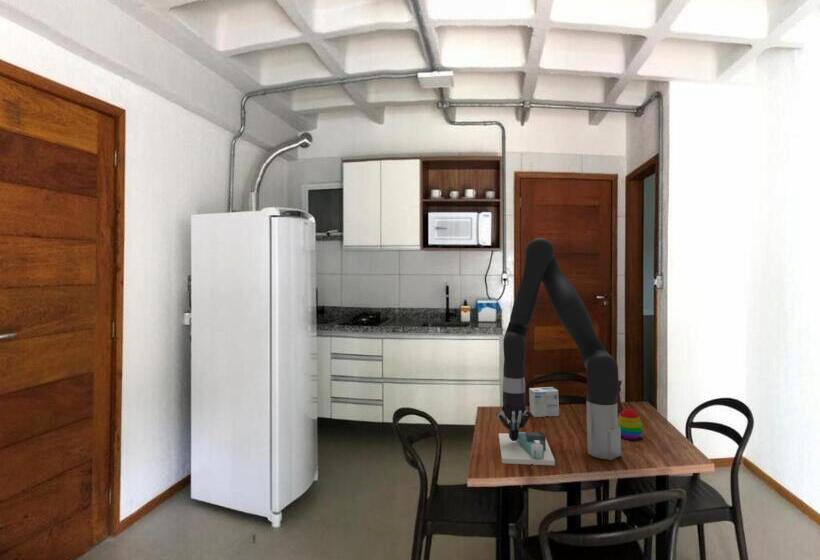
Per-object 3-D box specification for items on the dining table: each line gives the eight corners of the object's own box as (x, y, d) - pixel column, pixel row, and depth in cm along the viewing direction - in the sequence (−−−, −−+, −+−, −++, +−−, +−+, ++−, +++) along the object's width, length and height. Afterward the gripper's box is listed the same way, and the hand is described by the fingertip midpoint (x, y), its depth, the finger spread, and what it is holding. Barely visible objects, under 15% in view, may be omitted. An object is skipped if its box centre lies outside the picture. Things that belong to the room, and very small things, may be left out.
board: (555, 465, 135) (554, 460, 135) (502, 463, 137) (502, 458, 137) (544, 438, 156) (544, 434, 156) (498, 437, 159) (498, 433, 159)
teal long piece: (545, 458, 136) (544, 447, 136) (534, 459, 135) (533, 447, 135) (525, 438, 152) (525, 428, 152) (515, 439, 152) (515, 429, 152)
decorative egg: (645, 436, 157) (644, 408, 156) (638, 443, 151) (638, 414, 150) (620, 431, 162) (620, 404, 162) (613, 437, 156) (613, 409, 156)
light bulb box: (553, 411, 187) (552, 386, 187) (559, 416, 180) (559, 390, 180) (529, 412, 186) (528, 387, 186) (534, 417, 180) (533, 391, 180)
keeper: (545, 450, 142) (545, 436, 142) (527, 450, 143) (526, 435, 143) (544, 447, 145) (544, 432, 145) (526, 446, 146) (525, 432, 146)
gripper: (501, 393, 143) (501, 446, 144) (537, 390, 147) (536, 442, 147) (491, 388, 151) (491, 438, 151) (525, 385, 154) (524, 434, 155)
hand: (513, 440), depth 149 cm, fingers closed
